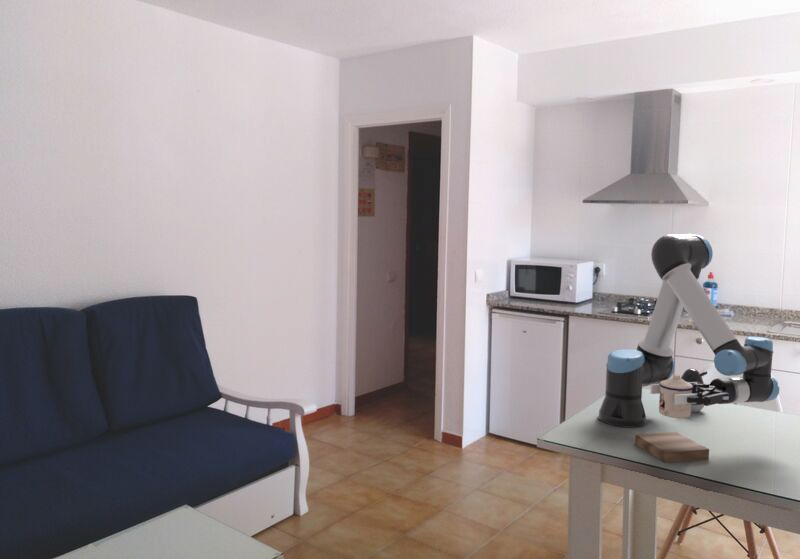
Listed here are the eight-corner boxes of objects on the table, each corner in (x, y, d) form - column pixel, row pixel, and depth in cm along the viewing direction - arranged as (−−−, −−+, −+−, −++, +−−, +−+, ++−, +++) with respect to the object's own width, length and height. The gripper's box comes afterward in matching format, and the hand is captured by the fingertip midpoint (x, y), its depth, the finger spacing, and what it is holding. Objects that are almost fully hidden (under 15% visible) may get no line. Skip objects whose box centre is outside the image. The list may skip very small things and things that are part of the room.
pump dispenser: (711, 415, 231) (714, 372, 229) (681, 414, 231) (684, 371, 229) (698, 406, 241) (701, 365, 239) (669, 405, 241) (672, 365, 240)
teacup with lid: (657, 408, 200) (660, 370, 199) (690, 411, 197) (693, 373, 196) (657, 419, 189) (660, 379, 188) (692, 423, 186) (694, 382, 184)
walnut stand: (634, 444, 200) (635, 434, 200) (675, 441, 203) (675, 431, 203) (665, 462, 186) (666, 452, 185) (708, 459, 189) (709, 449, 189)
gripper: (756, 414, 186) (688, 418, 181) (701, 392, 208) (639, 396, 203) (758, 388, 185) (690, 392, 180) (702, 369, 207) (640, 372, 202)
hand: (663, 394), depth 191 cm, fingers closed on teacup with lid, 11 cm apart
